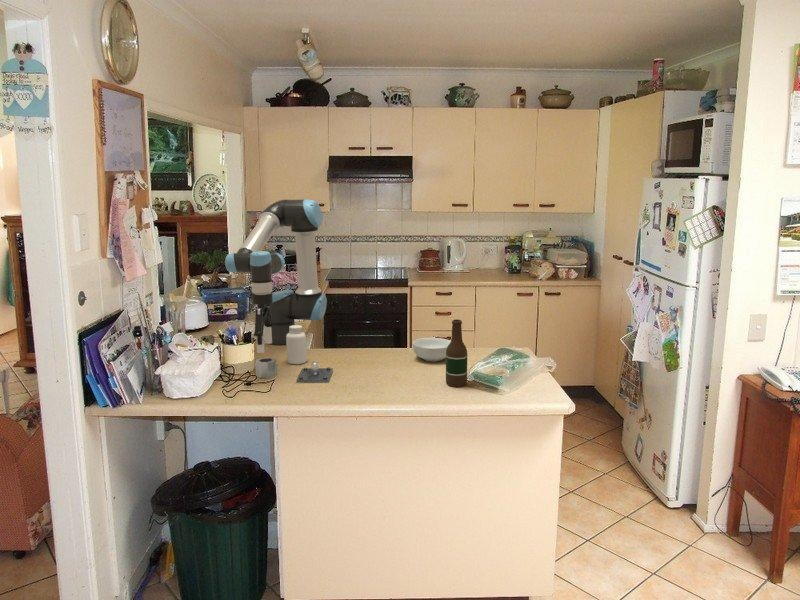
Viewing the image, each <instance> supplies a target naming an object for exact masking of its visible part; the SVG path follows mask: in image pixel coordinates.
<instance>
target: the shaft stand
mask: <svg viewBox="0 0 800 600" xmlns="http://www.w3.org/2000/svg"><path fill="white" fill-rule="evenodd" d="M319 365H320V364H319V361H311V362H310V367H309V368H308V367H303V368H301V370H300V373H299V374H298V376H297V378H296V383H297V382H304V383H306V384H307V383H308V382H309V383H313V384H314V383H330V380H331V378H332V375H331V374H333V372H332V371H334V369H333V368H334V367H329V366H328V367H326V368H324V367H323V368H322V367H321V368H320V366H319ZM330 377H331V378H330Z"/></svg>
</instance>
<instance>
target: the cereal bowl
mask: <svg viewBox="0 0 800 600" xmlns="http://www.w3.org/2000/svg"><path fill="white" fill-rule="evenodd" d="M450 342H451V339H447V338H441V337H422V338H421V337H420V338H417V339H415V340H414V341H412V350H413V352H414V354H415V355H416V356H417V357H419V358H421V359H423V360H425V361H426V362H439V361H441V360H443V359H446V350H447V347H448V345H449V344H450Z"/></svg>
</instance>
